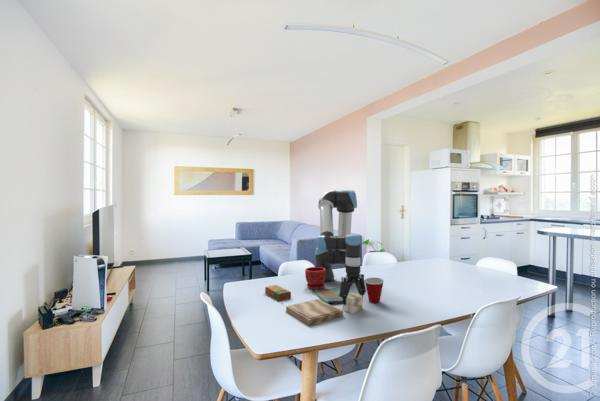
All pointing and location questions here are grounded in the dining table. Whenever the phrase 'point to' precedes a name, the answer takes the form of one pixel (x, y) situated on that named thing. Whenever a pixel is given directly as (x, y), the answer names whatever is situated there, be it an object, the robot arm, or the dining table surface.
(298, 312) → the board
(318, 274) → the plant pot
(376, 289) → the plastic cup
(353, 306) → the cube
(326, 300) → the teal book
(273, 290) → the carton
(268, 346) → the dining table surface
